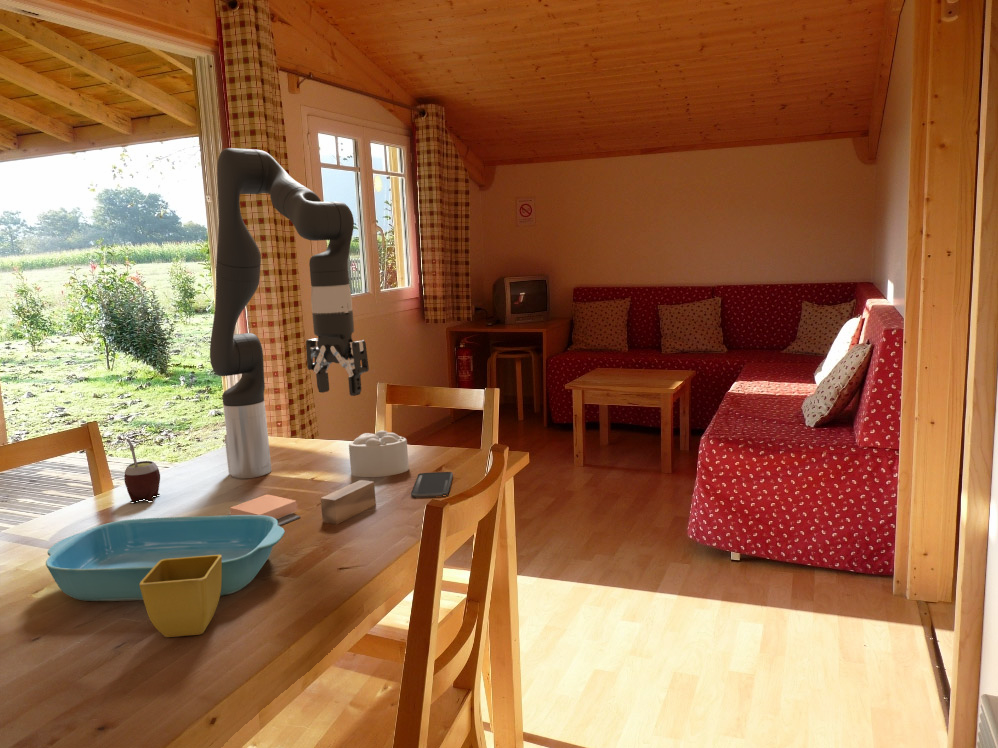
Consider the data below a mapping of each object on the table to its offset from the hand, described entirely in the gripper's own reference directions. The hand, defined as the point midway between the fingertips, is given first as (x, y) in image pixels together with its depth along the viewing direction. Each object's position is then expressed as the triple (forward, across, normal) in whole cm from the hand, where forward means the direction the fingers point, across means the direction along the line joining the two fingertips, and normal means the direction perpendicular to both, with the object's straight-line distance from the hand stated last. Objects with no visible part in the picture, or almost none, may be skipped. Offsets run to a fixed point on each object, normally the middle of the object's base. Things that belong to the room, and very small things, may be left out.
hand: (339, 393), depth 149 cm
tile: (+22, -14, -5) cm, 27 cm away
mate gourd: (+24, -47, -15) cm, 55 cm away
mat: (+24, -14, -11) cm, 30 cm away
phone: (+25, +4, +21) cm, 33 cm away
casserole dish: (+25, -4, -36) cm, 44 cm away
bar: (+24, 0, 0) cm, 24 cm away
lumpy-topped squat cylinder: (+24, -15, +25) cm, 38 cm away
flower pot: (+24, +14, -45) cm, 53 cm away
